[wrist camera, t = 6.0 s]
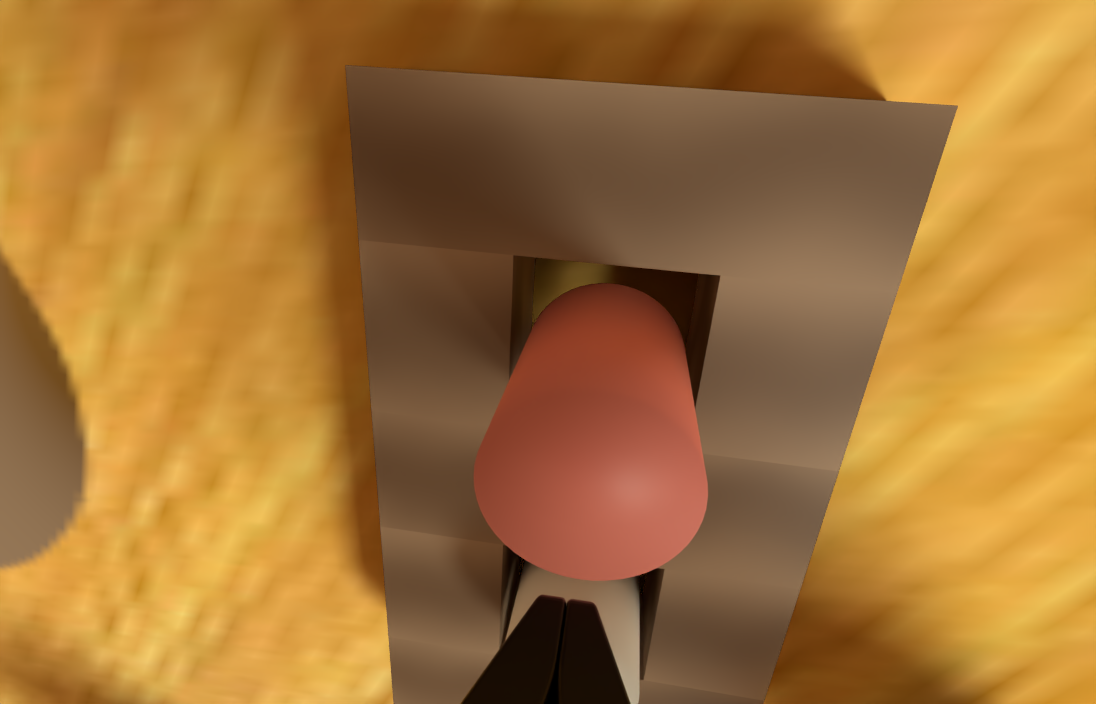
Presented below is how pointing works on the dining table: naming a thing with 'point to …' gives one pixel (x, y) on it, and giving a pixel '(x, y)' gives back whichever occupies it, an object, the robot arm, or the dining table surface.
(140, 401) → the dining table surface
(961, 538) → the dining table surface
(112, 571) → the dining table surface
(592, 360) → the red plunger
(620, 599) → the grey plunger
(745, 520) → the press panel
